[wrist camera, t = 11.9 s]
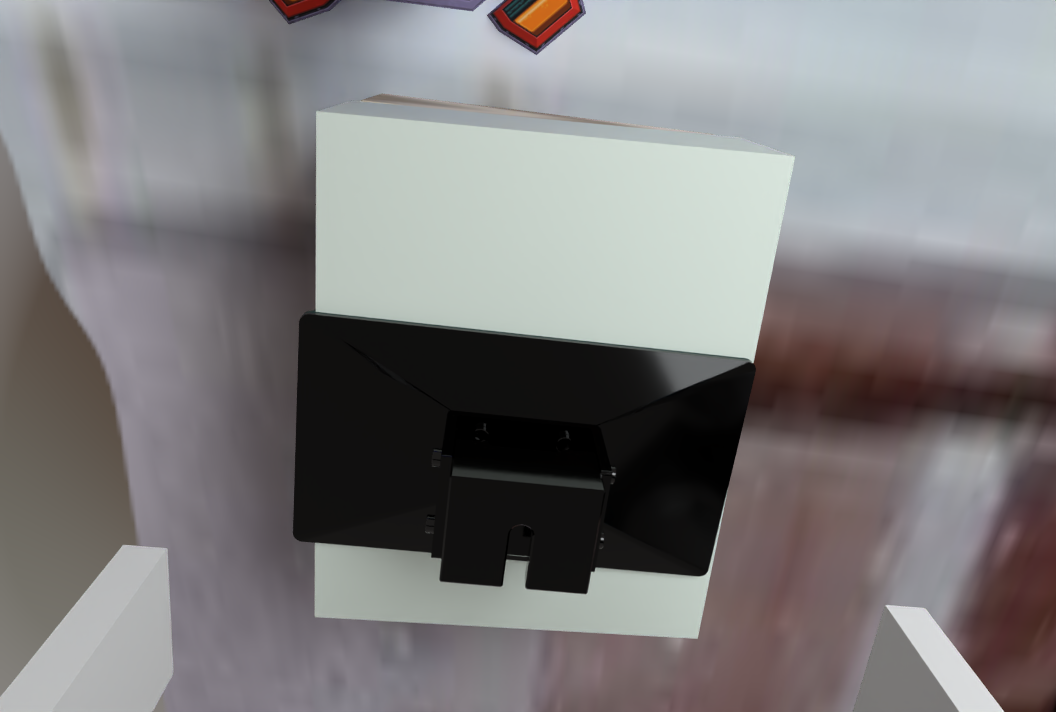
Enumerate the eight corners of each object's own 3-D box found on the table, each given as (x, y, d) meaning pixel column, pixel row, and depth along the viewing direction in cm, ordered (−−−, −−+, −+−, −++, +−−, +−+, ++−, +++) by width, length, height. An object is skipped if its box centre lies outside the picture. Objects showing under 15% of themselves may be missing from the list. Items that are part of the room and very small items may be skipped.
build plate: (295, 534, 24) (249, 638, 20) (302, 299, 22) (252, 360, 17) (704, 571, 25) (746, 679, 21) (757, 350, 22) (817, 419, 18)
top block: (740, 137, 25) (795, 156, 21) (667, 548, 30) (697, 638, 26) (351, 100, 24) (316, 111, 20) (344, 528, 30) (314, 617, 25)
